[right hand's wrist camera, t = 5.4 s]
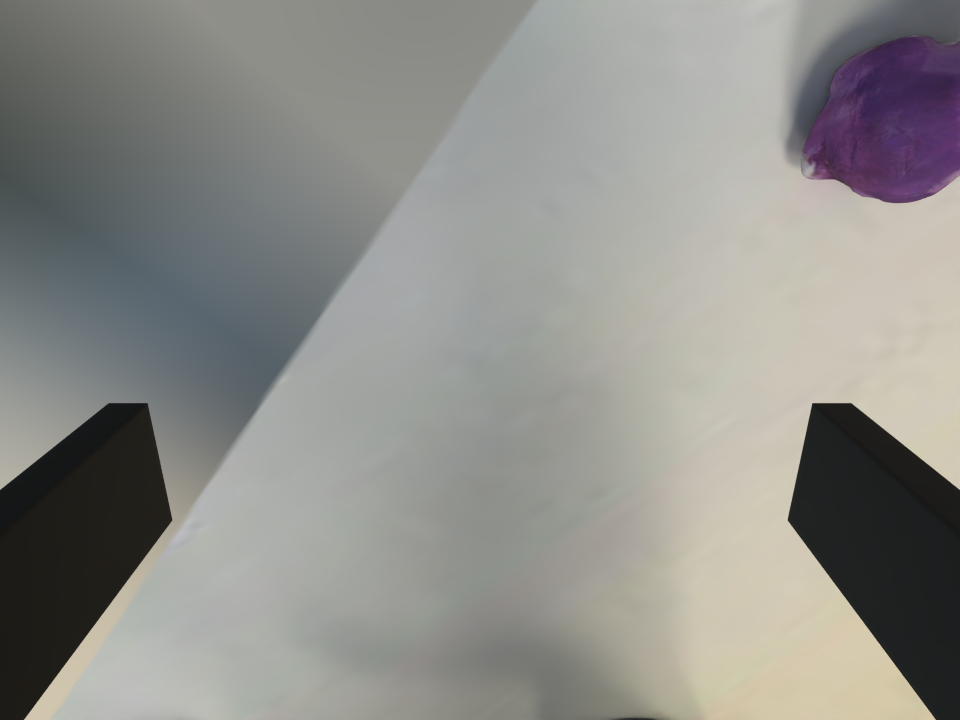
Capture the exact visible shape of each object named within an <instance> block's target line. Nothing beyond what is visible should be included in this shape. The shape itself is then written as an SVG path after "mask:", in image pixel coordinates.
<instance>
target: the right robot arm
mask: <svg viewBox="0 0 960 720" xmlns="http://www.w3.org/2000/svg"><path fill="white" fill-rule="evenodd" d="M171 521H172V516H171V511H170V507H169V502H168V497H167V493H166V488H165V483H164V479H163V474H162V469H161V465H160V460H159V455H158V450H157V446H156V441H155V436H154V431H153V427H152V422H151V417H150V413H149V408H148V404H147V403H109V404H107V405H106V406H105V407H104V408H102V409H101V410H100V411H98V412H97V413H96V414H95V415H94V416H92V417H91V418H90V419H88V420H87V421H86V422H85V423H83V424H82V425H81V426H80V427H79V428H77V429H76V430H75V431H73V432H72V433H71V434H70V435H68V436H67V437H66V438H65V439H63V440H62V441H61V442H60V443H58V444H57V445H56V446H55V447H53V448H52V449H51V450H50V451H48V452H47V453H46V454H45V455H43V456H42V457H41V458H40V459H38V460H37V461H36V462H35V463H33V464H32V465H31V466H30V467H28V468H27V469H26V470H25V471H23V472H22V473H21V474H20V475H18V476H17V477H16V478H15V479H13V480H12V481H11V482H10V483H8V484H7V485H6V486H5V487H3V488H2V489H1V490H0V720H24V719H25V718H26V716H27V715H28V714H29V712H30V711H31V710H32V708H33V707H34V705H35V704H36V703H37V701H38V700H39V699H40V697H41V696H42V695H43V693H44V692H45V691H46V689H47V688H48V687H49V685H50V684H51V683H52V681H53V680H54V679H55V677H56V676H57V675H58V673H59V672H60V671H61V669H62V668H63V667H64V665H65V664H66V663H67V661H68V660H69V658H70V657H71V656H72V654H73V653H74V652H75V650H76V649H77V648H78V646H79V645H80V644H81V642H82V641H83V640H84V638H85V637H86V636H87V634H88V633H89V631H90V630H91V629H92V628H93V626H94V625H95V624H96V622H97V621H98V619H99V618H100V617H101V615H102V614H103V613H104V611H105V610H106V609H107V607H108V606H109V605H110V603H111V602H112V601H113V599H114V598H115V597H116V595H117V594H118V593H119V591H120V590H121V589H122V587H123V586H124V584H125V583H126V582H127V580H128V579H129V578H130V576H131V575H132V574H133V572H134V571H135V570H136V568H137V567H138V566H139V564H140V563H141V562H142V560H143V559H144V558H145V556H146V555H147V554H148V552H149V551H150V550H151V548H152V547H153V546H154V544H155V543H156V542H157V540H158V539H159V537H160V536H161V535H162V533H163V532H164V531H165V529H166V528H167V527H168V525H169V524H170V523H171ZM788 521H789V523H790V524H791V525H792V527H793V528H794V529H795V531H796V532H797V533H798V535H799V536H800V537H801V539H802V540H803V542H804V543H805V544H806V546H807V547H808V548H809V550H810V551H811V552H812V554H813V555H814V556H815V558H816V559H817V560H818V562H819V563H820V564H821V566H822V567H823V568H824V570H825V571H826V572H827V574H828V575H829V576H830V578H831V579H832V581H833V582H834V583H835V585H836V586H837V587H838V589H839V590H840V591H841V593H842V594H843V595H844V597H845V598H846V599H847V601H848V602H849V603H850V605H851V606H852V607H853V609H854V610H855V611H856V613H857V614H858V615H859V617H860V618H861V619H862V621H863V622H864V624H865V625H866V626H867V628H868V629H869V630H870V632H871V633H872V634H873V636H874V637H875V638H876V640H877V641H878V642H879V644H880V645H881V646H882V648H883V649H884V650H885V652H886V653H887V654H888V656H889V657H890V658H891V660H892V661H893V663H894V664H895V665H896V667H897V668H898V669H899V671H900V672H901V673H902V675H903V676H904V677H905V679H906V680H907V681H908V683H909V684H910V685H911V687H912V688H913V689H914V691H915V692H916V693H917V695H918V696H919V697H920V699H921V700H922V701H923V703H924V704H925V706H926V707H927V708H928V710H929V711H930V712H931V714H932V715H933V716H934V718H935V719H936V720H960V490H959V489H958V488H957V487H955V486H954V485H953V484H952V483H950V482H949V481H948V480H947V479H945V478H944V477H943V476H942V475H940V474H939V473H938V472H937V471H935V470H934V469H933V468H932V467H930V466H929V465H928V464H927V463H925V462H924V461H923V460H922V459H920V458H919V457H918V456H917V455H915V454H914V453H913V452H912V451H910V450H909V449H908V448H907V447H905V446H904V445H903V444H902V443H900V442H899V441H898V440H897V439H895V438H894V437H893V436H892V435H890V434H889V433H888V432H887V431H885V430H884V429H883V428H882V427H880V426H879V425H878V424H877V423H875V422H874V421H873V420H872V419H870V418H869V417H868V416H867V415H865V414H864V413H863V412H862V411H860V410H859V409H858V408H857V407H855V406H854V405H853V404H851V403H812V408H811V413H810V417H809V422H808V427H807V431H806V436H805V441H804V446H803V450H802V455H801V460H800V464H799V469H798V474H797V478H796V483H795V488H794V493H793V497H792V502H791V507H790V511H789V516H788Z"/></svg>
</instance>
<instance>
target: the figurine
mask: <svg viewBox="0 0 960 720" xmlns="http://www.w3.org/2000/svg"><path fill="white" fill-rule="evenodd" d="M801 171H802V174H803V176H804V177H805V178H808V179H814V180H824V179H835V180H838V181H840V182H842V183H844V184H846V185H847V186H849V187H850V188H851V189H852V191H853V192H855V193H857V194H859V195H860V196H862V197H872V198H876V199H880V200H882V201H884V202H890V203H908V202H914V201H918V200H921V199H923V198H926V197H929V196H932V195H934V194H936V193H937V192H939V191H940V190H942V189H943V188H944V187H946V186H947V185H948V184H950V183H951V182H952V181H954V180H955V179H956V178H957V177H958V176H960V41H959V42H946V43H940V44H939V43H937V42H936V41H935V40H934V39H933V38H931V37H925V36H919V35H913V36H908V37H904V38H900V39H896V40H893V41H890V42H887V43H884V44H882V45H879V46H876V47H873V48H870V49H869V50H866V51H863V52H861V53H859V54H857V55H855V56H853V57H851V58H850V59H848V60H846V61H845V62H844V63H843V64H842V65H841V66H840V67H839V69H838V70H837V71H836V73H835V75H834V77H833V80H832V83H831V86H830V95H829V98H828V100H827V103H826V105H825V107H824V108H823V110H822V111H821V112H820V114H819V116H818V117H817V119H816V121H815V123H814V126H813V128H812V130H811V132H810V134H809V137H808V139H807V141H806V143H805V145H804V148H803V151H802V156H801Z"/></svg>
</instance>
